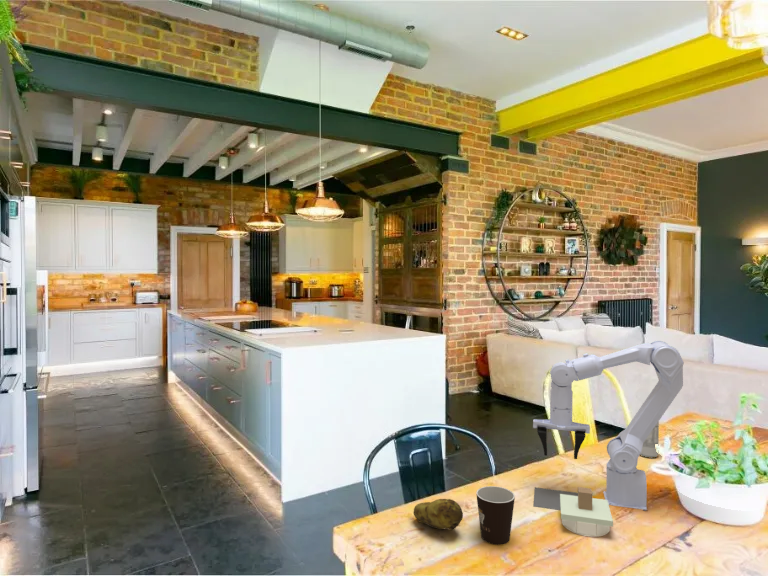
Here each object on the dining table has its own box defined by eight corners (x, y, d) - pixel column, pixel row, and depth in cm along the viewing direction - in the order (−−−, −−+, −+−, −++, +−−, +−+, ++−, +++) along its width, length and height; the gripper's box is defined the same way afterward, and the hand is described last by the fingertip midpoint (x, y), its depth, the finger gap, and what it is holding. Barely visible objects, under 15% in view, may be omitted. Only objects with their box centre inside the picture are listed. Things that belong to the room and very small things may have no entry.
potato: (438, 513, 124) (438, 482, 123) (468, 538, 112) (468, 503, 112) (409, 520, 120) (409, 488, 120) (437, 546, 108) (437, 511, 108)
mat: (580, 494, 134) (580, 493, 134) (583, 514, 122) (583, 513, 122) (534, 488, 138) (534, 487, 138) (533, 507, 126) (533, 506, 126)
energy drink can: (656, 453, 164) (657, 409, 164) (659, 460, 158) (660, 414, 158) (636, 451, 166) (637, 407, 166) (638, 457, 161) (639, 412, 160)
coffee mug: (515, 549, 107) (516, 504, 107) (475, 545, 109) (476, 501, 109) (512, 523, 118) (512, 482, 118) (476, 519, 120) (476, 479, 120)
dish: (606, 519, 120) (606, 506, 120) (611, 541, 110) (611, 526, 110) (561, 513, 123) (561, 499, 123) (562, 533, 113) (562, 519, 113)
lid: (607, 504, 120) (607, 484, 120) (612, 526, 110) (613, 503, 110) (560, 498, 124) (560, 478, 124) (561, 519, 114) (561, 496, 113)
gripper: (533, 408, 132) (532, 457, 133) (591, 413, 128) (590, 464, 128) (533, 401, 139) (533, 449, 139) (588, 406, 134) (588, 455, 135)
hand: (560, 456), depth 134 cm, fingers open, 7 cm apart
